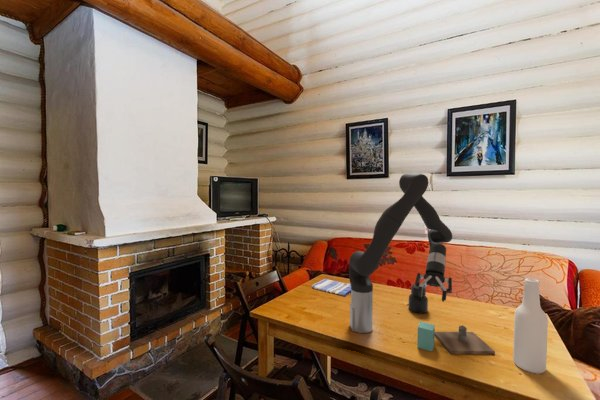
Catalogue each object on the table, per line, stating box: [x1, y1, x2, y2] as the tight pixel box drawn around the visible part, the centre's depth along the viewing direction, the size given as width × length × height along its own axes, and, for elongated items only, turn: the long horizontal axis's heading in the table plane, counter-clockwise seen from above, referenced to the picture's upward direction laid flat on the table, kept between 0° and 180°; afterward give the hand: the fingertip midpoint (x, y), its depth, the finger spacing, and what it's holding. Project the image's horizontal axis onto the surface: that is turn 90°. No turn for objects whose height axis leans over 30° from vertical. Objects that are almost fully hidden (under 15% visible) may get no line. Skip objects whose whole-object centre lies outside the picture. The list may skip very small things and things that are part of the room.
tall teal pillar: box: [417, 321, 436, 352], centre depth 110 cm, size 5×5×8 cm
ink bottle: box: [408, 283, 429, 314], centre depth 143 cm, size 10×9×12 cm
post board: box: [435, 325, 496, 355], centre depth 112 cm, size 16×14×7 cm
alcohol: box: [512, 277, 549, 375], centre depth 97 cm, size 9×9×30 cm
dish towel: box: [311, 278, 351, 297], centre depth 174 cm, size 17×24×3 cm
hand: (431, 298), depth 119 cm, fingers open, 8 cm apart
